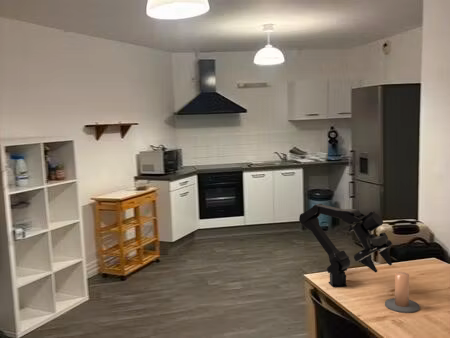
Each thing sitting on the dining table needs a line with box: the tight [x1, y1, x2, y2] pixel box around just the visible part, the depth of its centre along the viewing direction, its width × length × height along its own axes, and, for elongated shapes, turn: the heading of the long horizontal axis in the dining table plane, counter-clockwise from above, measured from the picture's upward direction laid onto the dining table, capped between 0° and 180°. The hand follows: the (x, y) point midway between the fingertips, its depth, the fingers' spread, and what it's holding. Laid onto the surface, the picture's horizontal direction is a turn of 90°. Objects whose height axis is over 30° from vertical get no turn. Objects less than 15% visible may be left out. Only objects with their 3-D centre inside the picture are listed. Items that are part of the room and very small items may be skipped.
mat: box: [384, 297, 421, 314], centre depth 181 cm, size 13×13×1 cm
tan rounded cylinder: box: [394, 271, 410, 307], centre depth 180 cm, size 5×5×12 cm
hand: (383, 268), depth 189 cm, fingers open, 9 cm apart
